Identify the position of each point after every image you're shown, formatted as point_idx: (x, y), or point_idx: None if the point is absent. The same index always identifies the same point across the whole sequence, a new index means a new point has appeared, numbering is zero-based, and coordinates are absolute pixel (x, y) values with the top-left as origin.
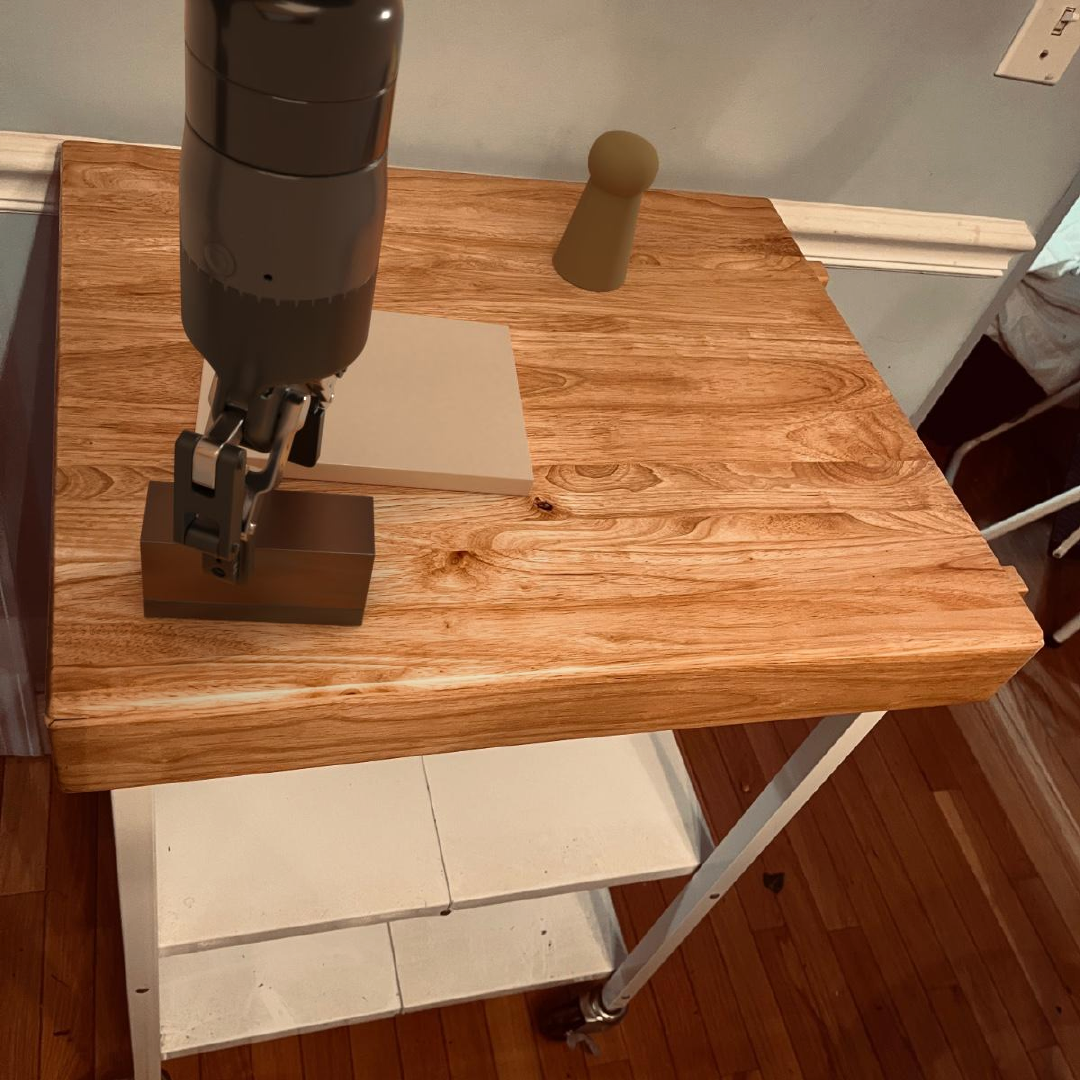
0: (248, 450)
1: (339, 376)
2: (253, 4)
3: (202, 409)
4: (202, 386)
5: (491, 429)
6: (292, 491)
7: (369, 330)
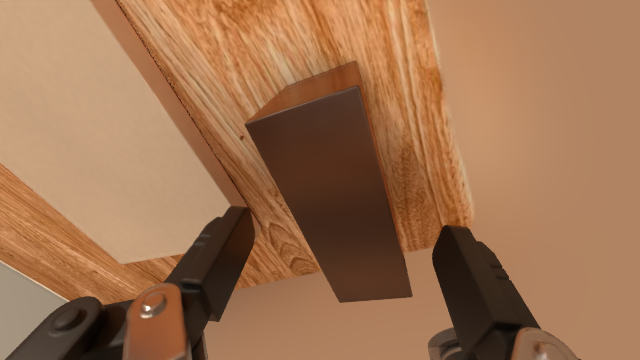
0: None
1: (96, 312)
2: None
3: None
4: None
5: None
6: (293, 213)
7: (36, 170)
